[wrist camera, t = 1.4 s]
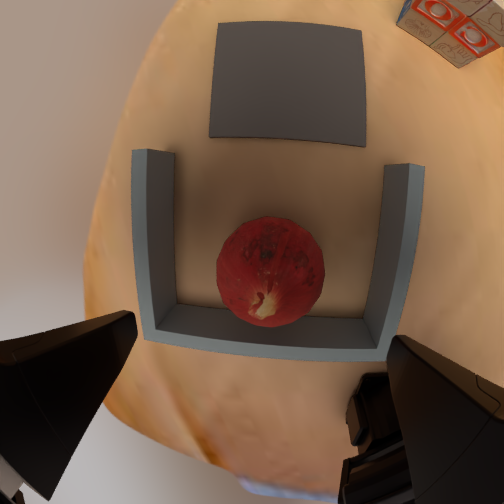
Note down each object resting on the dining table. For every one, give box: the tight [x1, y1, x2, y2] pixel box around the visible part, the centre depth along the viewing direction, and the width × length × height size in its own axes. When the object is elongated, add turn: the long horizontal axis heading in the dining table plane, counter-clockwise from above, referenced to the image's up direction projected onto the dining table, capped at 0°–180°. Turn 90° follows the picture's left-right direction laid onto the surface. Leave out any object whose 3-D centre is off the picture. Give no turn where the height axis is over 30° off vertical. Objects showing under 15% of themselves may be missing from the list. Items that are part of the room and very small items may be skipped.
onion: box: [217, 216, 325, 327], centre depth 15 cm, size 6×6×8 cm
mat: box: [209, 21, 366, 147], centre depth 15 cm, size 10×9×1 cm
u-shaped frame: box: [131, 149, 425, 362], centre depth 16 cm, size 16×12×4 cm
